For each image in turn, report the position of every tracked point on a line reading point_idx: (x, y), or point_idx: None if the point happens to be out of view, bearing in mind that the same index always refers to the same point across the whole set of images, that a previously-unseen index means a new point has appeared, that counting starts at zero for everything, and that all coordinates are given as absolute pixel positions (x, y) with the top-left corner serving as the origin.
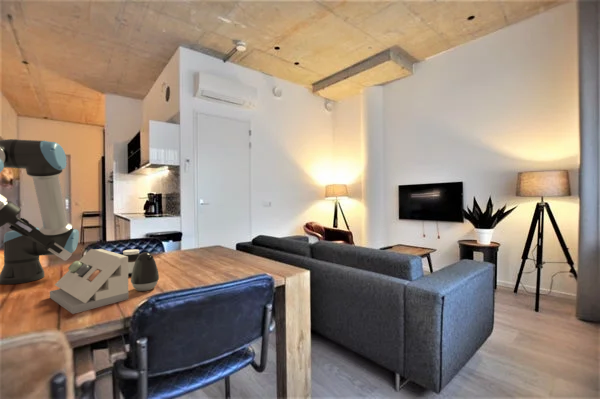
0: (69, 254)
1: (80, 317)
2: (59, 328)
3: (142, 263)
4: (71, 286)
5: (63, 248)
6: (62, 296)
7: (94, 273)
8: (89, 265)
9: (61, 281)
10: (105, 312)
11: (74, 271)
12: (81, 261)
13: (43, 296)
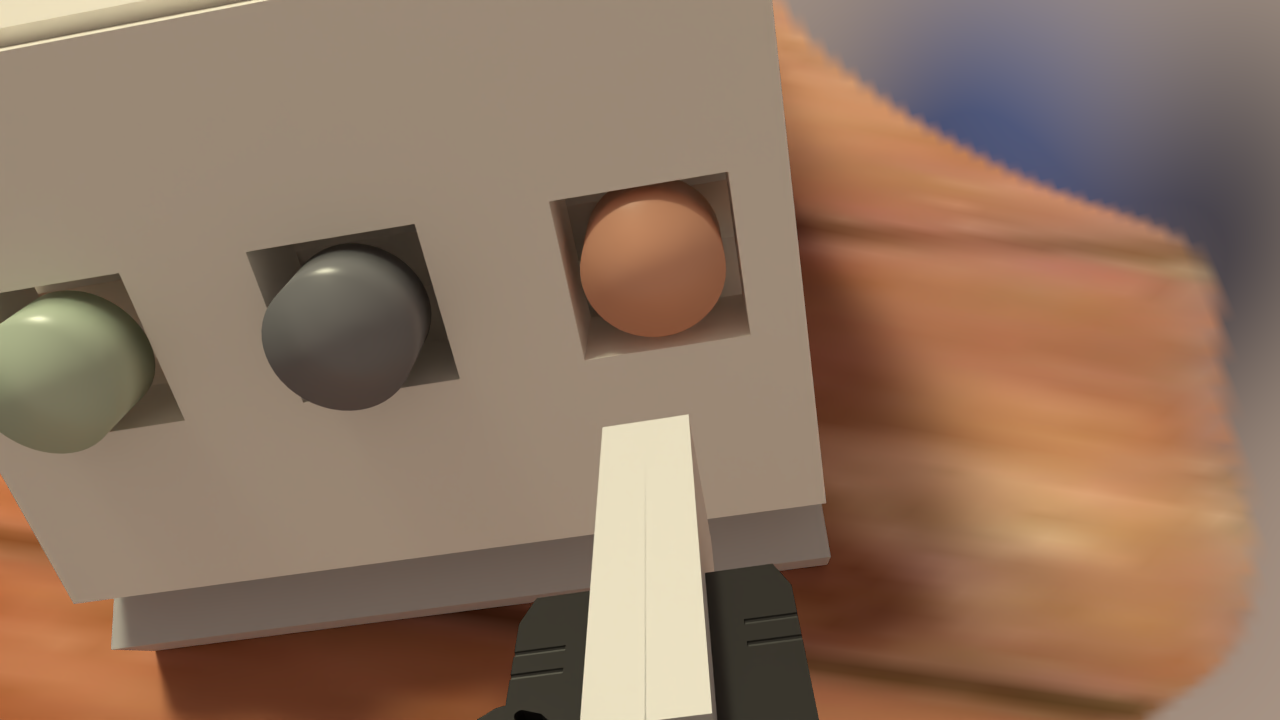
0: (695, 461)
1: (968, 529)
2: (1143, 710)
3: None
4: (443, 495)
5: (695, 539)
6: (408, 580)
7: (632, 258)
8: (275, 243)
9: (124, 544)
10: (984, 348)
11: (134, 404)
12: None
13: (57, 691)
